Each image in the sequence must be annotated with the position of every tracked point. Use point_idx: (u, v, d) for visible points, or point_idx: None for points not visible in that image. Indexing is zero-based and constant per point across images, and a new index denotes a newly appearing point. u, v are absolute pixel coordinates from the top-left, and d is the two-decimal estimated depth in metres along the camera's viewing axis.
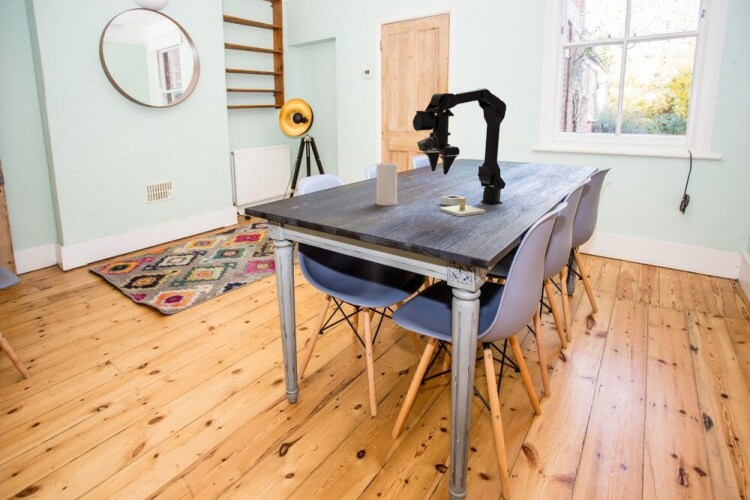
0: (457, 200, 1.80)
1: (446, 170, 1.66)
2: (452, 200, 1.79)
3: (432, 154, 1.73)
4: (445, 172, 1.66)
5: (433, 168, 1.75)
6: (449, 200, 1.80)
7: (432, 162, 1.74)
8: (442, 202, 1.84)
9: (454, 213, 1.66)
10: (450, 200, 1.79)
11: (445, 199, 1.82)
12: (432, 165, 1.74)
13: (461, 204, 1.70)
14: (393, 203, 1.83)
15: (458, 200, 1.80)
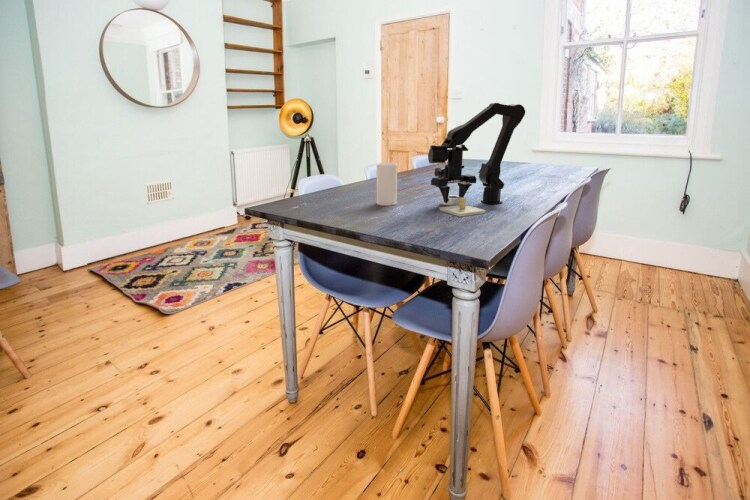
0: (457, 200, 1.80)
1: (444, 199, 1.81)
2: (452, 200, 1.79)
3: (461, 185, 1.84)
4: (444, 200, 1.82)
5: None
6: (449, 200, 1.80)
7: (460, 192, 1.85)
8: (442, 202, 1.84)
9: (454, 213, 1.66)
10: (450, 200, 1.79)
11: None
12: (459, 195, 1.85)
13: (461, 204, 1.70)
14: (393, 203, 1.83)
15: (458, 200, 1.80)
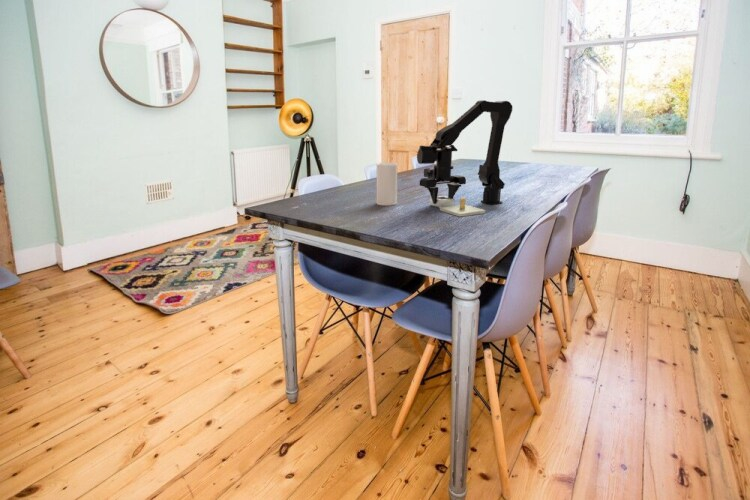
0: (446, 201, 1.78)
1: (433, 200, 1.79)
2: (441, 201, 1.76)
3: (450, 186, 1.81)
4: (433, 201, 1.79)
5: None
6: (438, 201, 1.77)
7: (449, 193, 1.82)
8: (431, 203, 1.81)
9: (454, 213, 1.66)
10: (439, 201, 1.77)
11: None
12: (448, 196, 1.83)
13: (461, 204, 1.70)
14: (393, 203, 1.83)
15: (447, 201, 1.78)
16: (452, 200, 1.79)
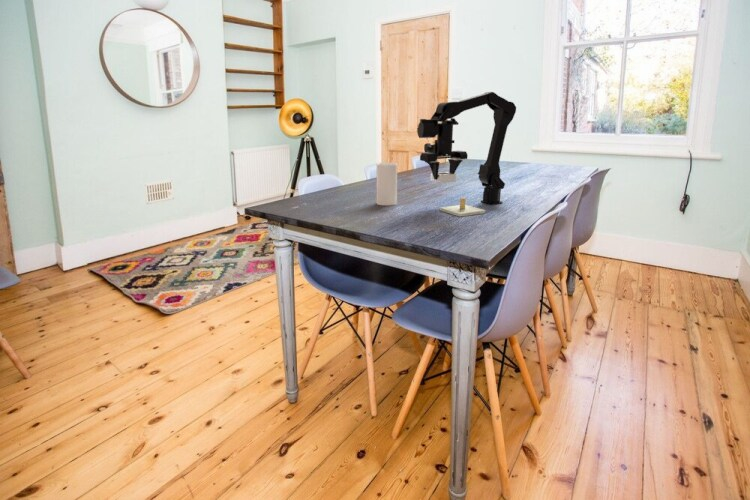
0: (447, 176, 1.74)
1: (434, 175, 1.75)
2: (442, 176, 1.73)
3: (451, 161, 1.78)
4: (434, 177, 1.75)
5: None
6: (439, 176, 1.73)
7: (451, 169, 1.78)
8: (432, 179, 1.78)
9: (454, 213, 1.66)
10: (440, 176, 1.73)
11: None
12: (450, 172, 1.79)
13: (461, 204, 1.70)
14: (393, 203, 1.83)
15: (448, 176, 1.74)
16: (453, 175, 1.75)
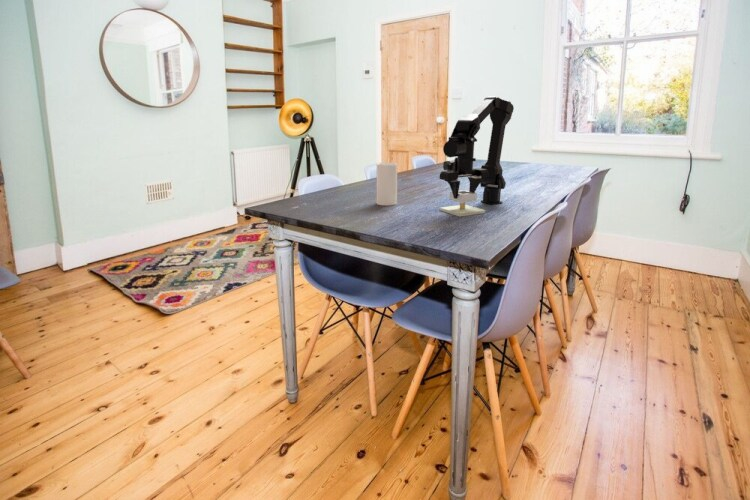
0: (468, 195, 1.67)
1: (454, 194, 1.68)
2: (463, 196, 1.65)
3: (472, 179, 1.70)
4: (454, 196, 1.68)
5: None
6: (459, 195, 1.66)
7: (471, 187, 1.71)
8: (451, 198, 1.70)
9: (454, 213, 1.66)
10: (460, 195, 1.66)
11: None
12: (470, 190, 1.71)
13: (461, 204, 1.70)
14: (393, 203, 1.83)
15: (469, 195, 1.67)
16: (474, 194, 1.68)
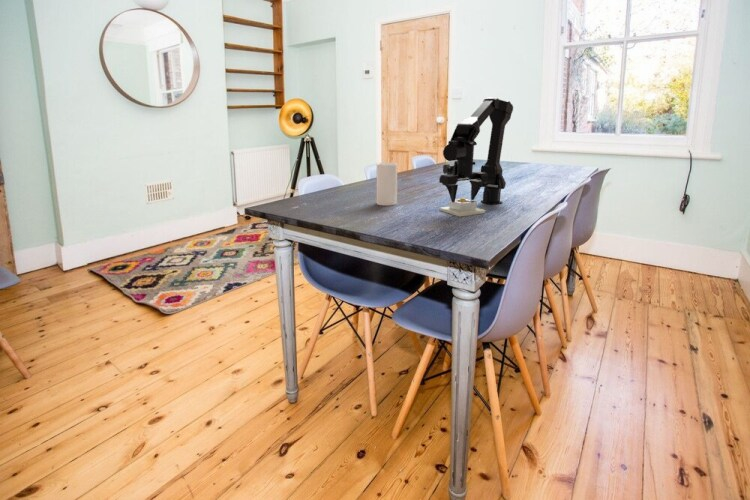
0: (467, 204, 1.67)
1: (452, 198, 1.67)
2: (462, 205, 1.66)
3: (473, 183, 1.71)
4: (451, 199, 1.68)
5: (471, 197, 1.72)
6: (459, 204, 1.67)
7: (472, 190, 1.72)
8: (451, 206, 1.71)
9: (454, 213, 1.66)
10: (460, 204, 1.67)
11: (454, 203, 1.69)
12: (471, 193, 1.72)
13: None
14: (393, 203, 1.83)
15: (468, 204, 1.68)
16: (473, 203, 1.69)
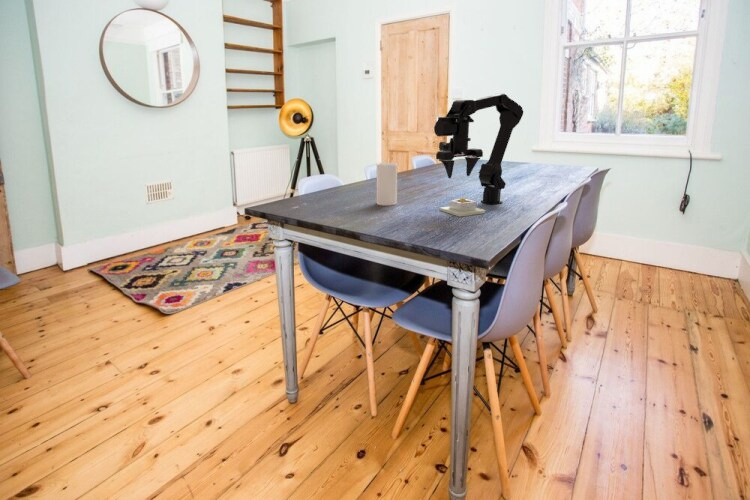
0: (467, 204, 1.67)
1: (448, 174, 1.72)
2: (462, 205, 1.66)
3: (469, 159, 1.76)
4: (448, 175, 1.73)
5: (467, 173, 1.77)
6: (459, 204, 1.67)
7: (468, 167, 1.77)
8: (451, 206, 1.71)
9: (454, 213, 1.66)
10: (460, 204, 1.67)
11: (454, 203, 1.69)
12: (467, 170, 1.77)
13: None
14: (393, 203, 1.83)
15: (468, 204, 1.68)
16: (473, 203, 1.69)
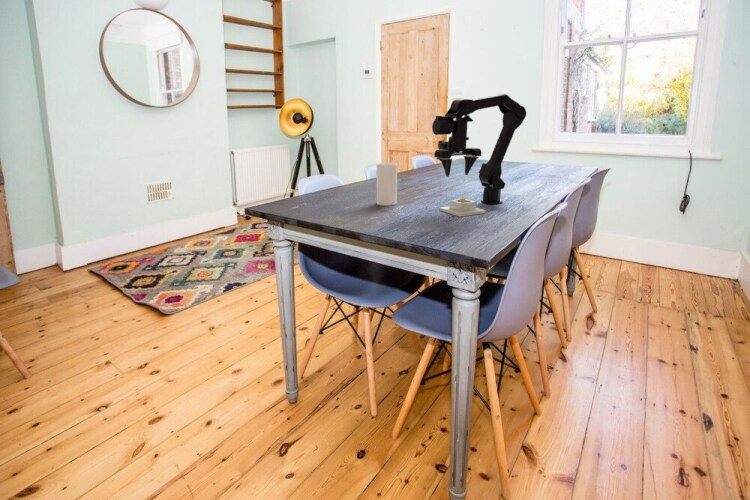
0: (467, 204, 1.67)
1: (446, 172, 1.74)
2: (462, 205, 1.66)
3: (467, 158, 1.78)
4: (446, 174, 1.75)
5: (465, 172, 1.79)
6: (459, 204, 1.67)
7: (466, 165, 1.79)
8: (451, 206, 1.71)
9: (454, 213, 1.66)
10: (460, 204, 1.67)
11: (454, 203, 1.69)
12: (465, 169, 1.79)
13: None
14: (393, 203, 1.83)
15: (468, 204, 1.68)
16: (473, 203, 1.69)
